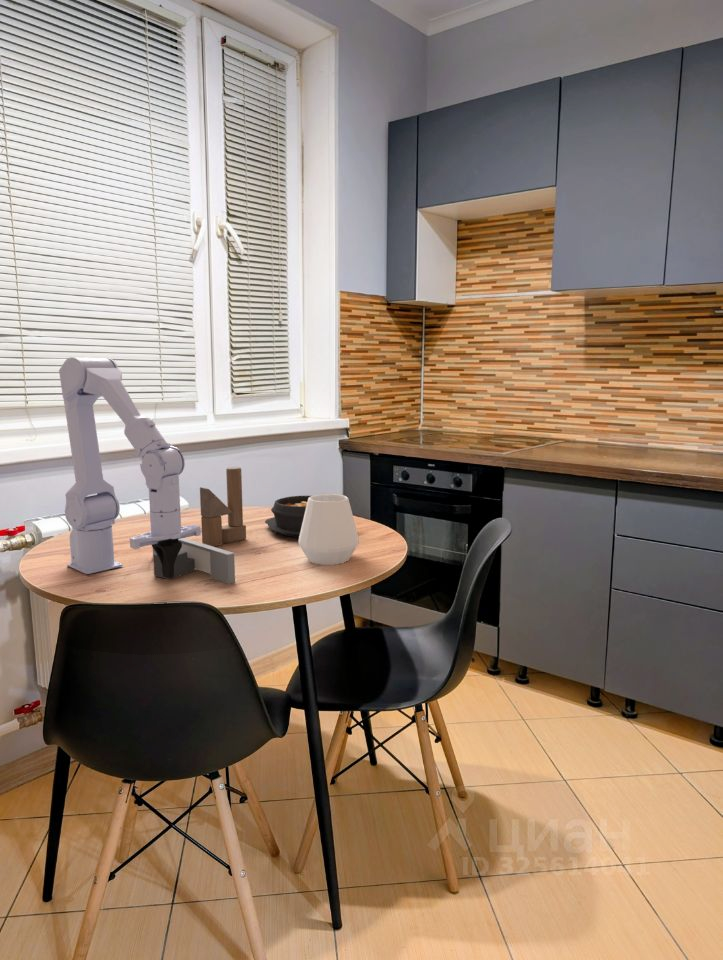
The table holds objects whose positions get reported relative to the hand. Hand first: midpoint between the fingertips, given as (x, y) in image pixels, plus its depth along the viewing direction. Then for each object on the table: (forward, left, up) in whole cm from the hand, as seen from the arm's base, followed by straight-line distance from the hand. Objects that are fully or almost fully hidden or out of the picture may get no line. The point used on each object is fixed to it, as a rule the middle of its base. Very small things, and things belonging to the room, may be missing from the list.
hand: (168, 576), depth 133 cm
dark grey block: (-4, +4, -1) cm, 6 cm away
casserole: (-10, +46, -1) cm, 47 cm away
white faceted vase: (+12, +33, -1) cm, 35 cm away
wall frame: (-4, +8, -1) cm, 9 cm away
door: (-4, +8, -1) cm, 9 cm away
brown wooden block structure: (-17, +26, -1) cm, 31 cm away
